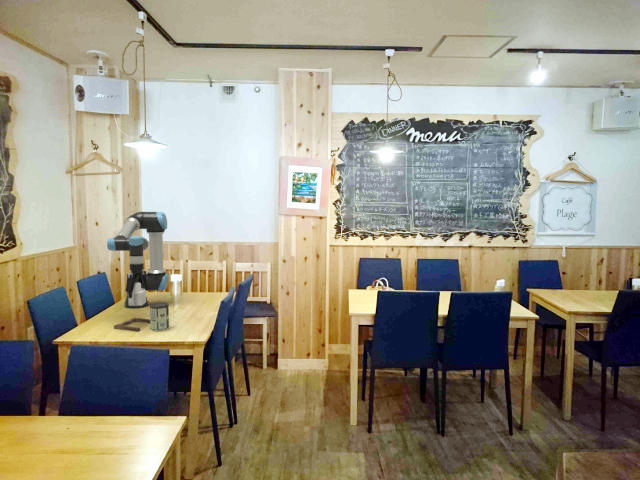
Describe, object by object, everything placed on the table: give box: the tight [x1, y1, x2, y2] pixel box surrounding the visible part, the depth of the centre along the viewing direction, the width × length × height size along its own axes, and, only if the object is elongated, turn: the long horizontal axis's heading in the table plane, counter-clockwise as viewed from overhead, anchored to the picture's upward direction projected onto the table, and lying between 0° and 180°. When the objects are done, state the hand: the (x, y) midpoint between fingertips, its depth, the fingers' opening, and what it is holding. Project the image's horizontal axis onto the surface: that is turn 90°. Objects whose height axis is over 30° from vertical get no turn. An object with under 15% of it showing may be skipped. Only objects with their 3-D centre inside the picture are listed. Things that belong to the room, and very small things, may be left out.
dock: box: [113, 317, 150, 333], centre depth 265 cm, size 18×16×2 cm
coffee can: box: [149, 302, 170, 332], centre depth 260 cm, size 10×10×14 cm
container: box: [128, 281, 147, 306], centre depth 262 cm, size 8×8×13 cm
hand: (137, 301), depth 263 cm, fingers closed on container, 9 cm apart
